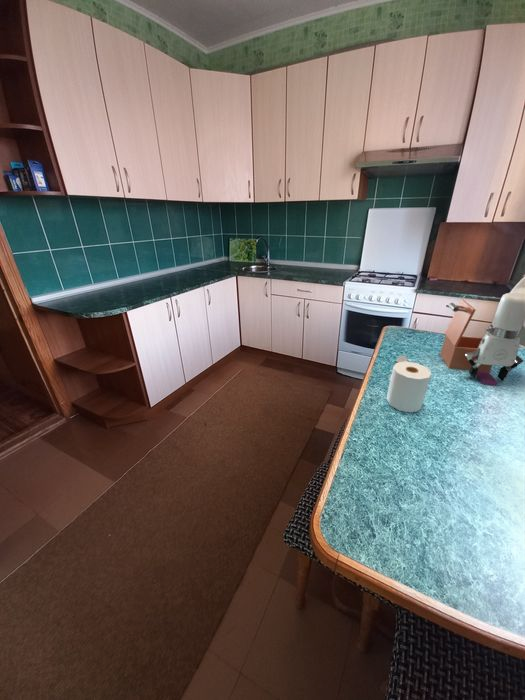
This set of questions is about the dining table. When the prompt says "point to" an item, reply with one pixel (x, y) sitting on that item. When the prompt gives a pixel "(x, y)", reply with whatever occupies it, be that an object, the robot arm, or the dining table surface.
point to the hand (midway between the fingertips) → (486, 377)
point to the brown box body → (461, 353)
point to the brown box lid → (459, 321)
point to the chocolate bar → (486, 378)
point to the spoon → (400, 359)
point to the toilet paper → (408, 386)
